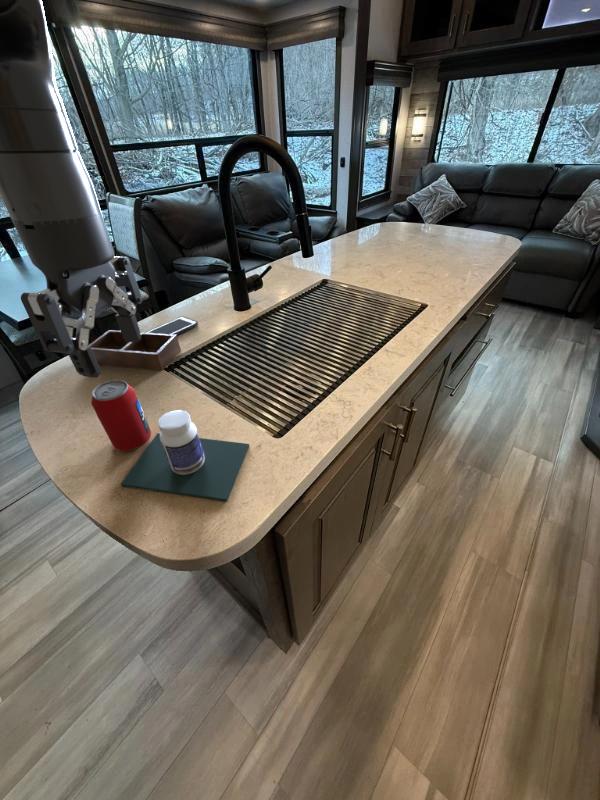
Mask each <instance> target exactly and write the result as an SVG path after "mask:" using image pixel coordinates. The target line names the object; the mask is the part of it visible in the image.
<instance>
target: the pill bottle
mask: <svg viewBox="0 0 600 800" xmlns="http://www.w3.org/2000/svg"><path fill="white" fill-rule="evenodd" d="M157 425H158V428H159V431H160V432H159V433H160V441H161V444H162V446H163V449H164V451H165V454H166V457H167V459H168V462H169V464H170V467H171V469H172V470H173V471H174V472H175V473H177V474H181V475H186V474H190V473H193V472H195V471H197V470H198V469H199V468H200V467H201V466H202V465H203V463H204V460H205V457H204V452H203V449H202V445H201V442H200V438H201V437H200V436H199V435H200V434H199V433H198V432H199V431H198V428H197V426H196V425H195V423H194V422H192V419H191V416H190V414H189V412H187V411H185V410H183V409H182V410H181V409H175V410H171V411H167V412H166V413H164V414H163V415H161V417H160V418H159V419H158V421H157Z"/></svg>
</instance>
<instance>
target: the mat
mask: <svg viewBox="0 0 600 800" xmlns="http://www.w3.org/2000/svg"><path fill="white" fill-rule="evenodd" d="M160 433H161V432H157V433H156V434H155V436H154V437H153V439H152V440H151V441H150V442H149V444H148V445H147V447H146V448H145V450H144V451H143V452H142V453H141V455H140V457H139V458H138V459H137V461H136V462H135V463H134V465H133V466H132V468H131V469H130V471H129V472H128V473H127V474H126V476H125V477H124V478H123V480H122V481H121V482H120V486H121V487H124V488H130V489H137V490H144V491H150V492H158V493H165V494H171V495H179V496H185V497H190V498H191V497H192V498H198V499H199V498H200V499H205V500H214V501H220V502H227V503H228V500H229V498H230V495H231V493H232V491H233V488H234V486H235V483H236V481H237V478H238V476H239V473H240V471H241V468H242V465H243V463H244V460H245V459H246V456H247V453H248V450H249V448H250V443H246V442H237V441H228V440H219V439H212V438H211V439H210V438H203V437H199V438H200V442H201V445H202V449H203V452H204V457H205V460H204V463H203V465H202V466H201V467H200V468H199V469H198V470H197V471H195V472H193V473H190V474H186V475H181V474H177V473H175V472H174V471H173V470H172V469H171V467H170V464H169V462H168V459H167V457H166V454H165V451H164V449H163V446H162V444H161V441H160Z"/></svg>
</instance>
